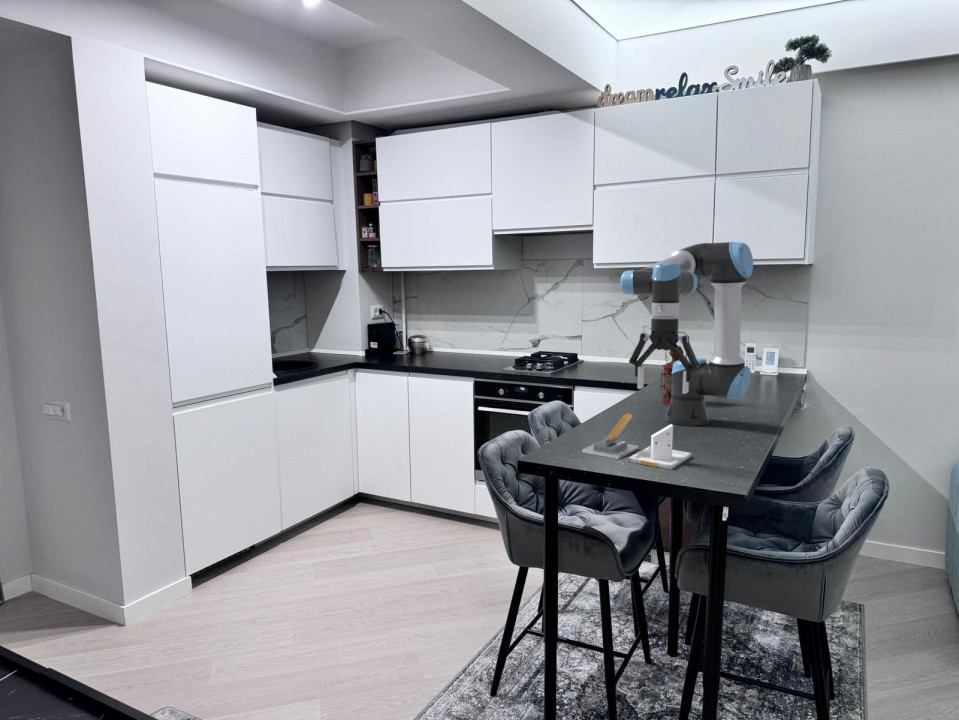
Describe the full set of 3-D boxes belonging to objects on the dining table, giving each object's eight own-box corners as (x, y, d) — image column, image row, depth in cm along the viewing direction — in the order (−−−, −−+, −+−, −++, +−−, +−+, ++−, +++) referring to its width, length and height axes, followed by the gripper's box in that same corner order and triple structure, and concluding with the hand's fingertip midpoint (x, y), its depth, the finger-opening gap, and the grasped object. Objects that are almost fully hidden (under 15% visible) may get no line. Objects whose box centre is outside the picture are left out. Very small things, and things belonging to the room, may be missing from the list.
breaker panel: (603, 442, 215) (603, 435, 215) (637, 448, 208) (638, 441, 208) (582, 452, 204) (582, 444, 204) (618, 458, 197) (618, 450, 197)
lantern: (688, 400, 283) (690, 330, 279) (691, 406, 271) (694, 333, 267) (658, 400, 286) (660, 330, 282) (660, 405, 274) (663, 332, 270)
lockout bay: (649, 449, 207) (650, 446, 207) (691, 456, 199) (691, 452, 199) (627, 461, 194) (627, 457, 194) (671, 469, 186) (671, 465, 186)
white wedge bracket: (686, 450, 195) (673, 425, 194) (657, 467, 195) (643, 442, 194) (682, 447, 198) (669, 422, 197) (653, 463, 199) (639, 439, 198)
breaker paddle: (610, 437, 209) (628, 412, 204) (615, 441, 208) (633, 416, 203) (603, 441, 204) (621, 415, 200) (607, 445, 204) (626, 419, 199)
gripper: (619, 316, 195) (617, 387, 198) (704, 320, 181) (700, 397, 184) (629, 315, 201) (628, 384, 204) (712, 318, 187) (709, 393, 189)
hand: (662, 390), depth 194 cm, fingers open, 13 cm apart
